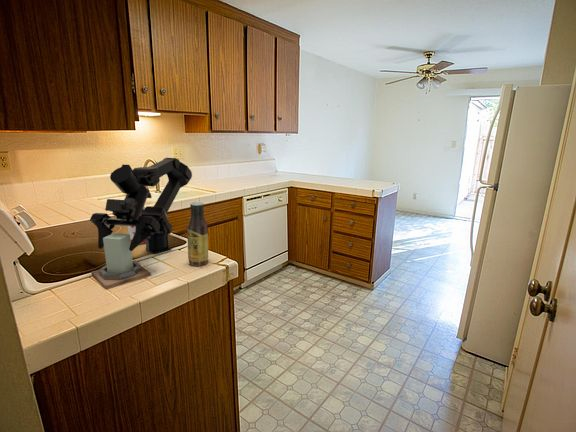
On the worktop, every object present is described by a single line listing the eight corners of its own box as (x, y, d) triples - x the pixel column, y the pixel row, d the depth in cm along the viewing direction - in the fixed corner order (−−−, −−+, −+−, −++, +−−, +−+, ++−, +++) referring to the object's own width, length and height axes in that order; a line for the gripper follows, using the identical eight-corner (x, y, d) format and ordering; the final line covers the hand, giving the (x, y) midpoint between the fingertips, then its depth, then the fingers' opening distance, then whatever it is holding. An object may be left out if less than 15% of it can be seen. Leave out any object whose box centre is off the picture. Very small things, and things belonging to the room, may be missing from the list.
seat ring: (132, 262, 97) (131, 257, 97) (145, 272, 91) (145, 267, 90) (96, 271, 90) (95, 267, 90) (108, 283, 84) (107, 278, 83)
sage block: (117, 268, 93) (113, 233, 90) (133, 269, 92) (129, 234, 90) (107, 274, 89) (102, 238, 86) (124, 276, 88) (119, 239, 85)
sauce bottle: (184, 262, 101) (181, 202, 96) (201, 257, 105) (199, 200, 100) (195, 269, 96) (192, 206, 91) (213, 263, 101) (210, 203, 96)
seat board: (134, 263, 99) (134, 260, 99) (151, 275, 91) (150, 272, 91) (91, 274, 90) (91, 271, 90) (106, 289, 83) (105, 285, 82)
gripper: (89, 185, 89) (64, 234, 81) (151, 188, 87) (132, 238, 79) (111, 206, 99) (90, 251, 91) (167, 209, 97) (151, 256, 89)
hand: (114, 249), depth 87 cm, fingers open, 9 cm apart
